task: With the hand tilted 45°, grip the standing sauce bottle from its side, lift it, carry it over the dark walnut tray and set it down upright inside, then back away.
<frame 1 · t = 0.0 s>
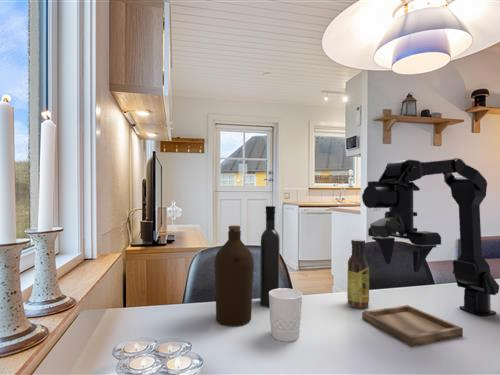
hand: (401, 267, 79), 15 cm above the table, tool pointing down, fingers open, 9 cm apart
wine bottle: (269, 304, 94), on the table
olive oil: (233, 319, 82), on the table
walnut tray: (409, 327, 77), on the table
sauce bottle: (358, 306, 93), on the table
white cup: (285, 336, 72), on the table
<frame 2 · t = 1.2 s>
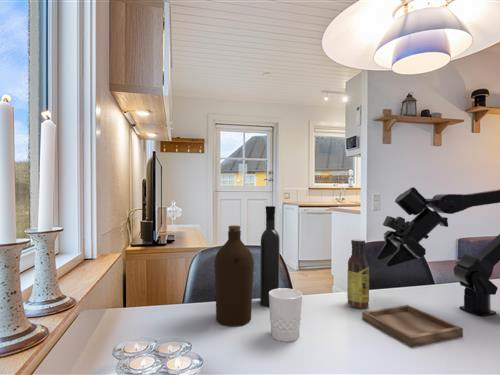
hand: (382, 262, 92), 13 cm above the table, tool tilted 45°, fingers open, 9 cm apart
nothing on the table moved.
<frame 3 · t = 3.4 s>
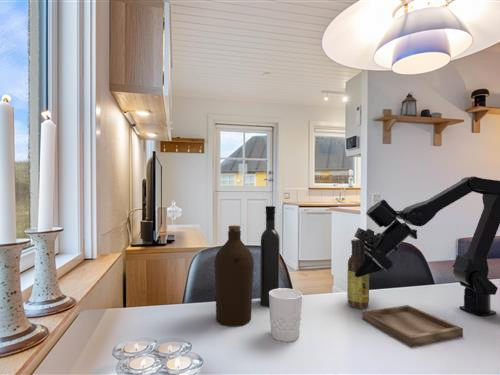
hand: (353, 273, 93), 10 cm above the table, tool tilted 45°, fingers closed on sauce bottle, 6 cm apart
sauce bottle: (358, 305, 93), on the table, touching gripper
everything else where it was.
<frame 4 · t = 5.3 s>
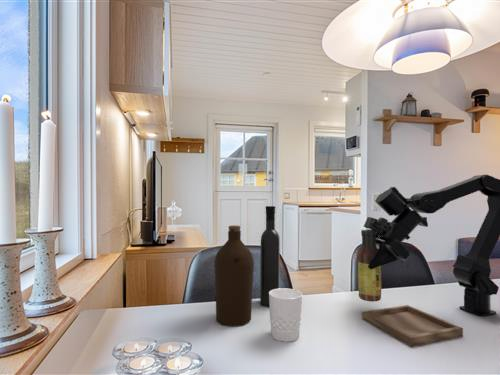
hand: (364, 265, 88), 13 cm above the table, tool tilted 45°, fingers closed on sauce bottle, 6 cm apart
sauce bottle: (369, 299, 88), point 3 cm above the table, touching gripper
everything else where it was.
when the fingers open (12 cm above the table, at t = 7.2 s): sauce bottle drops 1 cm, resting on walnut tray.
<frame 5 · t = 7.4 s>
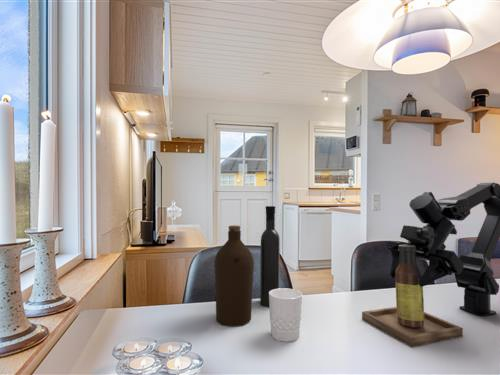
hand: (405, 281, 77), 12 cm above the table, tool tilted 45°, fingers open, 8 cm apart
sauce bottle: (410, 324, 77), point 1 cm above the table, touching walnut tray
everything else where it was.
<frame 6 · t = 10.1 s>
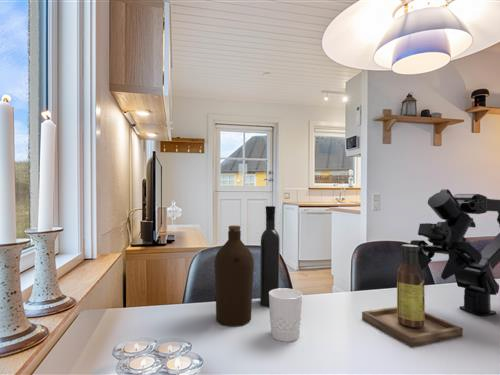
hand: (428, 275, 81), 12 cm above the table, tool tilted 40°, fingers open, 9 cm apart
nothing on the table moved.
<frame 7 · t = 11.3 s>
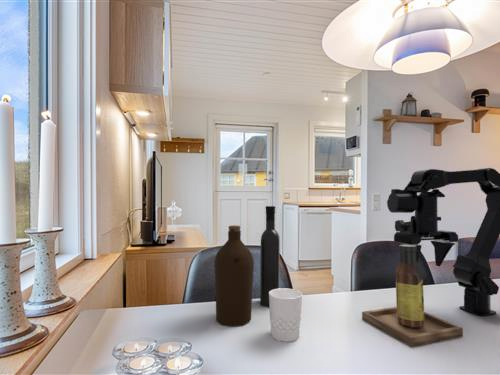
hand: (426, 267, 87), 13 cm above the table, tool pointing down, fingers open, 9 cm apart
nothing on the table moved.
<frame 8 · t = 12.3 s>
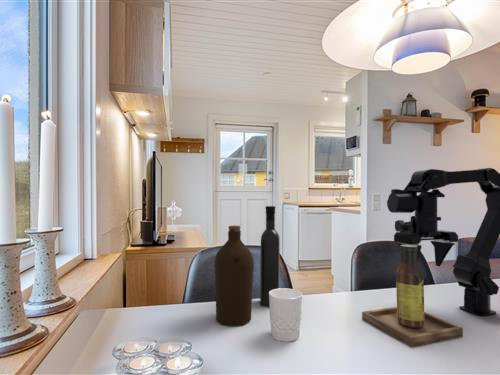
hand: (426, 267, 87), 13 cm above the table, tool pointing down, fingers open, 9 cm apart
nothing on the table moved.
at the end: sauce bottle inside the target area on the walnut tray (0.3 cm from its centre), point 0.6 cm above the walnut tray's base; sauce bottle tilted 1°; the gripper is holding nothing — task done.
